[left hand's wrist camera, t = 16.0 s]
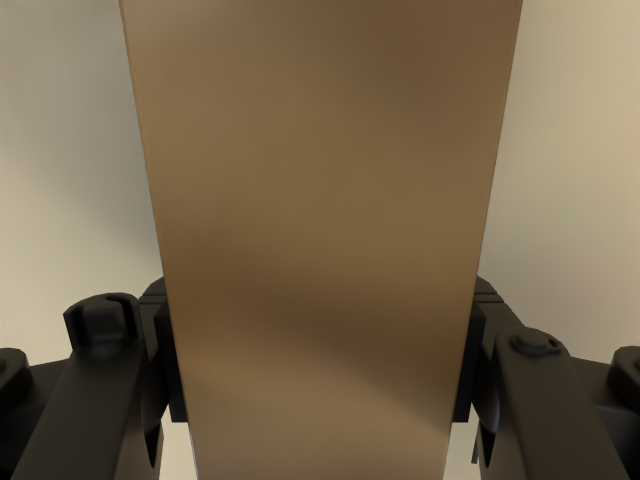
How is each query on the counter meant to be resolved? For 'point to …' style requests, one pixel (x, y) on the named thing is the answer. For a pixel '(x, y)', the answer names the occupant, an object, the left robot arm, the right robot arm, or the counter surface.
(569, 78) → the counter surface
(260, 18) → the bar
